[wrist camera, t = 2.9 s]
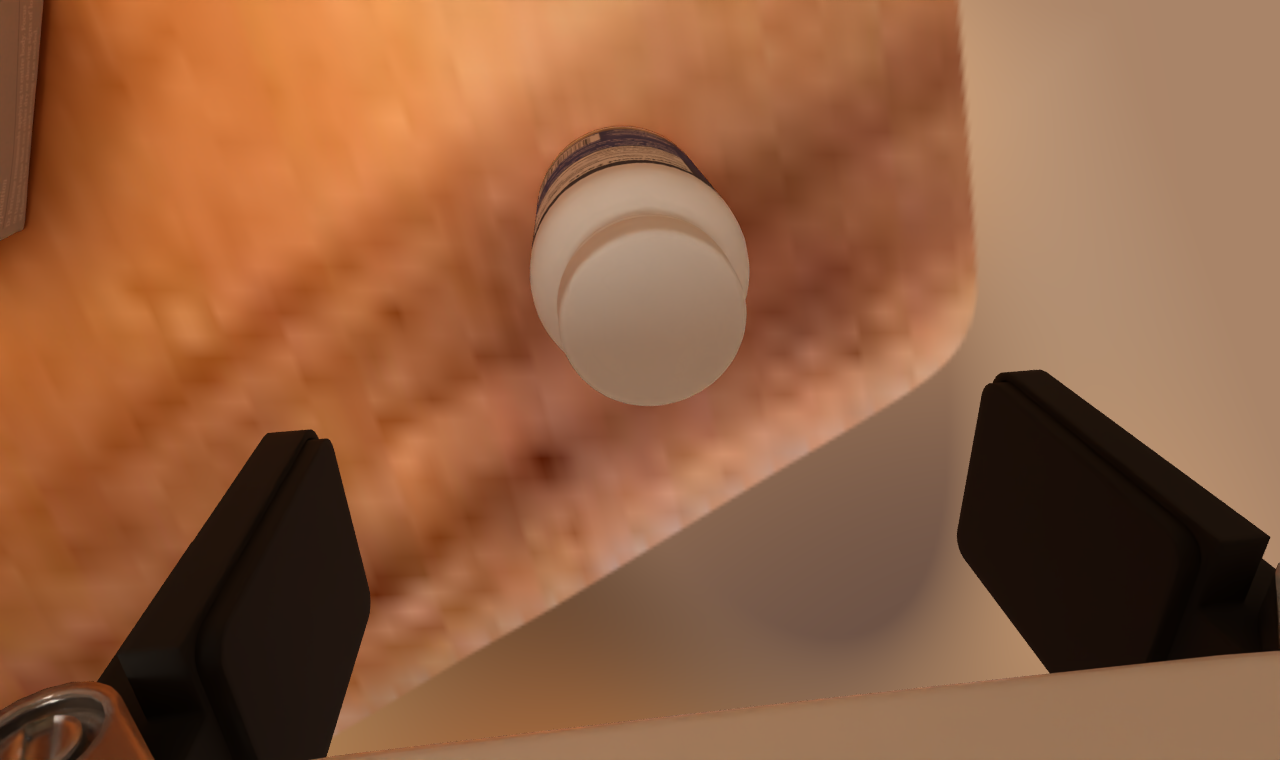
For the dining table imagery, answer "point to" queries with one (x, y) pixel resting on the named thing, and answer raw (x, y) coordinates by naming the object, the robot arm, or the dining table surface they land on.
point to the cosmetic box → (17, 105)
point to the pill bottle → (638, 267)
